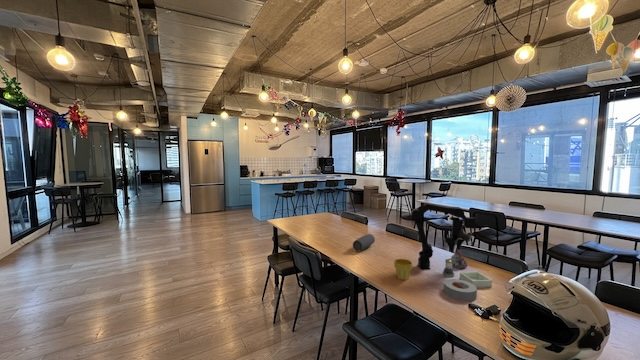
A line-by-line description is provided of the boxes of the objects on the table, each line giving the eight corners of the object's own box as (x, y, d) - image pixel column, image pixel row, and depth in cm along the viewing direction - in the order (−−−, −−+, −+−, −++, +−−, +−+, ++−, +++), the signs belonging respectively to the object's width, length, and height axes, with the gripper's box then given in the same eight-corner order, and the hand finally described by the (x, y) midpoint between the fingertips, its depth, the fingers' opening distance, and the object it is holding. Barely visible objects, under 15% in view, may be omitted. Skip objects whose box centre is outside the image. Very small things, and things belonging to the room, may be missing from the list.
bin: (472, 288, 148) (473, 281, 148) (459, 278, 160) (459, 272, 160) (491, 287, 150) (492, 280, 149) (477, 278, 161) (477, 271, 161)
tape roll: (439, 294, 142) (439, 284, 142) (450, 284, 153) (450, 276, 152) (471, 305, 131) (471, 295, 131) (480, 294, 142) (480, 285, 141)
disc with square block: (446, 277, 162) (446, 274, 162) (440, 272, 168) (440, 269, 168) (456, 276, 163) (456, 273, 163) (450, 272, 169) (450, 269, 169)
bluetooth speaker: (364, 244, 225) (365, 232, 224) (375, 246, 219) (375, 234, 218) (351, 251, 206) (352, 238, 205) (362, 254, 201) (362, 241, 200)
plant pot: (390, 275, 164) (390, 259, 163) (403, 272, 168) (404, 257, 167) (401, 282, 154) (402, 266, 154) (415, 279, 159) (416, 263, 158)
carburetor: (473, 266, 172) (461, 251, 173) (457, 275, 175) (446, 260, 175) (467, 260, 183) (456, 246, 184) (453, 268, 186) (442, 254, 187)
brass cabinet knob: (447, 273, 163) (447, 261, 162) (442, 270, 168) (443, 258, 167) (454, 273, 163) (455, 261, 163) (449, 269, 168) (450, 258, 168)
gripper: (464, 232, 157) (462, 258, 158) (476, 227, 169) (474, 251, 170) (445, 228, 166) (443, 252, 167) (458, 224, 178) (456, 247, 179)
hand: (455, 251), depth 170 cm, fingers open, 9 cm apart
